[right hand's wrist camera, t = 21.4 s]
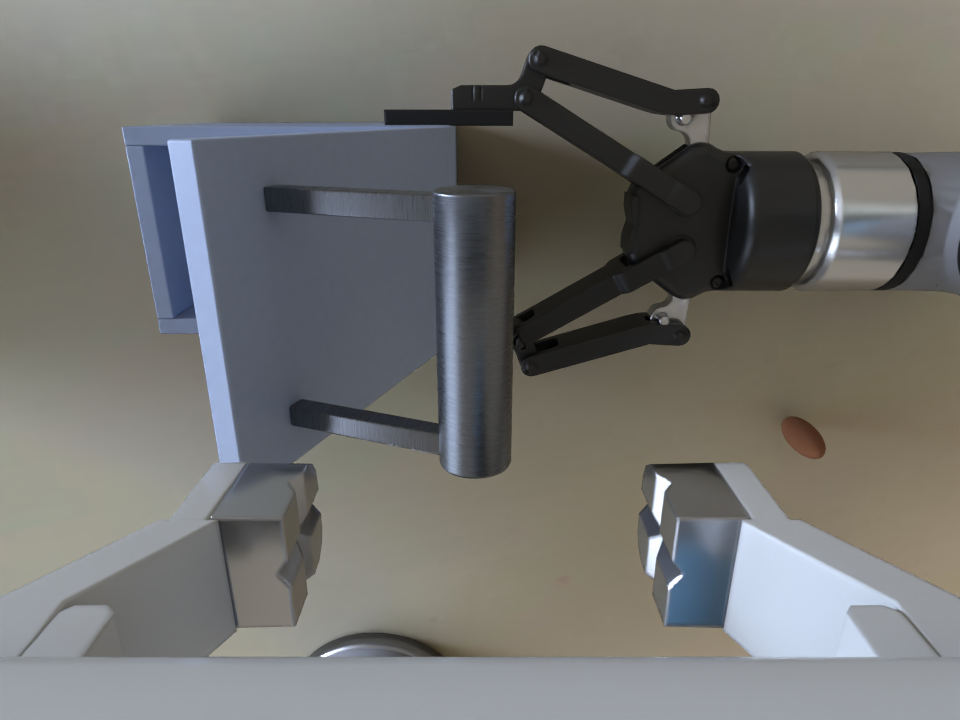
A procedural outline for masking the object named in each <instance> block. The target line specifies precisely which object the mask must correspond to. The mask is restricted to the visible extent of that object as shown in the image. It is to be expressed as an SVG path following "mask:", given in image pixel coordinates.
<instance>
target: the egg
mask: <svg viewBox="0 0 960 720" xmlns="http://www.w3.org/2000/svg"><path fill="white" fill-rule="evenodd" d="M782 432H783V435H784V437H785V439H786V441H787V442H788V443H789V444H790V446H791V447H792V448H793V449H794V450H796V451H797V452H798V453H800V454H801V455H803V456H805V457H808V458H811V459H818V458H821V457H822V456H823V455H824V454H825V451H826V447H825V443H824V440H823V438H822V436H821V435H820V433H819V432H818V431H817V430H816V429H815V428H814V427H813V426H812V425H811V424H810V423H808V422H807V421H805V420H803V419H801V418H798V417H787V418H785V419H784V420H783V422H782Z"/></svg>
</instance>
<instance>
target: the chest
mask: <svg viewBox="0 0 960 720" xmlns="http://www.w3.org/2000/svg"><path fill="white" fill-rule="evenodd" d="M437 126H450V125H385V123H197V124H172V125H148V126H124V127H122V131H123V136H124V142H125V145H127V146H126V151H127V157H128V162H129V167H130V173H131V178H132V184H133V189H134V194H135V200H136V205H137V210H138V216H139V221H140V227H141V232H142V237H143V243H144V248H145V253H146V259H147V264H148V269H149V275H150V280H151V286H152V291H153V296H154V302H155V307H156V312H157V317H158V318H159V319H158V323H159V328H160V333H161V334H199V331H198V325H197V319H196V313H195V307H194V301H193V294H192V288H191V282H190V276H189V270H188V264H187V258H186V252H185V246H184V240H183V233H182V227H181V221H180V215H179V209H178V203H177V197H176V191H175V185H174V179H173V173H172V166H171V160H170V154H169V148H168V140H170V139H182V138H204V137H225V136H246V135H267V134H288V133H310V132H331V131H352V130H373V129H394V128H416V127H437ZM454 127H455V158H456V185H457V139H456V126H454Z"/></svg>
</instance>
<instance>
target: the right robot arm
mask: <svg viewBox="0 0 960 720" xmlns="http://www.w3.org/2000/svg"><path fill="white" fill-rule="evenodd" d="M317 491H318V482H317V475H316V470H315V468H314V466H313V464H287V463H247V462H233V463H216V464H213V465H212V466H211V467H210V468H209V470H208V471H207V472H206V473H205V475H204V476H203V477H202V479H201V480H200V481H199V483H198V484H197V485H196V486H195V488H194V489H193V490H192V492H191V493H190V494H189V496H188V497H187V498H186V499H185V501H184V502H183V503H182V505H181V506H180V507H179V509H178V510H177V511H176V512H175V514H174V515H173V516H172V518H171V519H170V520H158V521H156V522H154V523H152V524H150V525H148V526H146V527H144V528H142V529H140V530H138V531H135V532H133V533H131V534H129V535H127V536H125V537H123V538H121V539H119V540H117V541H115V542H113V543H111V544H109V545H107V546H105V547H103V548H101V549H98V550H96V551H94V552H92V553H90V554H88V555H86V556H84V557H82V558H80V559H78V560H76V561H74V562H72V563H70V564H68V565H66V566H64V567H61V568H59V569H57V570H55V571H53V572H51V573H49V574H47V575H45V576H43V577H41V578H39V579H37V580H35V581H33V582H31V583H29V584H27V585H24V586H22V587H20V588H18V589H16V590H14V591H12V592H10V593H8V594H6V595H4V596H2V597H0V720H960V597H958V596H956V595H953V594H951V593H949V592H947V591H945V590H943V589H941V588H939V587H937V586H935V585H933V584H931V583H929V582H927V581H925V580H923V579H921V578H919V577H917V576H915V575H913V574H910V573H908V572H906V571H904V570H902V569H900V568H898V567H896V566H894V565H892V564H890V563H888V562H886V561H884V560H882V559H880V558H878V557H876V556H874V555H872V554H870V553H867V552H865V551H863V550H861V549H859V548H857V547H855V546H853V545H851V544H849V543H847V542H845V541H843V540H841V539H839V538H837V537H835V536H833V535H831V534H829V533H827V532H824V531H822V530H820V529H818V528H816V527H814V526H812V525H810V524H808V523H806V522H804V521H802V520H790V519H789V518H788V516H787V515H786V514H785V513H784V511H783V510H782V509H781V507H780V506H779V505H778V503H777V502H776V501H775V500H774V498H773V497H772V496H771V494H770V493H769V492H768V491H767V489H766V488H765V487H764V485H763V484H762V483H761V481H760V480H759V479H758V478H757V476H756V475H755V474H754V472H753V471H752V470H751V469H750V467H749V466H748V465H747V464H745V463H742V462H730V463H687V464H650V465H646V467H645V470H644V474H643V481H642V491H643V494H644V496H645V498H646V501H647V503H648V504H647V505H646V506H645V507H644V509H643V510H642V511H641V512H640V513H639V521H638V547H639V554H640V559H641V563H642V566H643V569H644V572H645V574H647V575H648V576H649V577H651V578H652V579H653V580H654V583H653V592H652V594H653V597H654V600H655V602H656V605H657V608H658V611H659V613H660V616H661V619H662V621H663V624H664V626H673V627H710V628H724V629H723V631H724V632H726V633H727V634H728V635H729V636H730V637H731V638H732V639H733V640H735V641H736V642H737V643H738V644H739V645H740V646H741V647H743V648H744V649H745V650H746V651H747V652H748V653H749V654H750V655H752V656H753V657H208V656H209V655H210V654H211V653H212V652H213V651H214V650H215V649H217V648H218V647H219V646H220V645H221V644H222V643H223V642H225V641H226V640H227V639H228V638H229V637H230V636H231V635H233V634H234V633H235V632H236V628H250V627H285V626H296V624H297V622H298V619H299V616H300V613H301V611H302V608H303V605H304V602H305V600H306V597H307V594H308V592H307V583H306V580H307V579H308V578H309V577H311V576H312V575H313V574H315V572H316V569H317V566H318V563H319V559H320V552H321V546H322V520H321V513H320V512H319V511H318V510H317V509H316V507H315V506H314V505H313V504H312V503H313V501H314V498H315V496H316V494H317Z"/></svg>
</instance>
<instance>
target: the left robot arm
mask: <svg viewBox="0 0 960 720" xmlns="http://www.w3.org/2000/svg"><path fill="white" fill-rule="evenodd" d="M546 78H547V79H550V80H553V81H556V82H559V83H562V84H565V85H568V86H571V87H574V88H577V89H580V90H583V91H586V92H589V93H592V94H595V95H597V96H600V97H603V98H606V99H609V100H612V101H615V102H618V103H621V104H624V105H627V106H630V107H633V108H636V109H639V110H642V111H645V112H649V113H653V114H660V115H666V123H667V125H668V127H669V128H670V129H672V130H675V131H679V132H680V133H682V134H683V136H684V138H685V144H684V145H682V146H680V147H679V148H678V149H676V150H675V151H673V152H672V153H671V154H669V155H668V156H666V157H665V158H663V159H662V160H661V161H659V162H658V163H656V164H655V165H653V164H651V163H650V162H648V161H647V160H645V159H644V158H642V157H640V156H639V155H637V154H635V153H633V152H632V151H630V150H629V149H627V148H626V147H624V146H623V145H621V144H619V143H618V142H616V141H615V140H613V139H612V138H610V137H609V136H607V135H606V134H604V133H603V132H601V131H600V130H598V129H596V128H595V127H593V126H592V125H590V124H589V123H587V122H586V121H584V120H583V119H581V118H580V117H578V116H577V115H575V114H573V113H572V112H570V111H569V110H567V109H566V108H564V107H563V106H561V105H560V104H558V103H557V102H555V101H554V100H552V99H550V98H549V97H547V96H546V95H544V94H543V93H541V90H542V88H543V85H544V82H545V79H546ZM719 101H720V99H719V94H718V93H717V91H715V90H714V89H711V88H701V89H684V90H673V89H670V88H667V87H664V86H661V85H658V84H656V83H653V82H650V81H647V80H644V79H641V78H638V77H635V76H632V75H629V74H626V73H623V72H620V71H617V70H614V69H611V68H608V67H605V66H603V65H600V64H597V63H594V62H591V61H588V60H585V59H582V58H579V57H576V56H573V55H570V54H567V53H564V52H561V51H558V50H555V49H552V48H550V47H547V46H541V45H540V46H537V47H535V48H534V49H533V50H531V52H530V53H529V54H528V56H527V58H526V62H525V64H524V67H523V70H522V73H521V76H520V78H519V79H518V81H517V82H516V83H514V84H512V85H461V86H458V87H456V88H454V89H452V90H451V105H452V110H384V119H385V125H450V126H513V111H521V112H523V113H524V114H526V115H528V116H529V117H531V118H532V119H534V120H535V121H537V122H538V123H540V124H542V125H543V126H545V127H546V128H548V129H549V130H551V131H552V132H554V133H556V134H557V135H559V136H560V137H562V138H563V139H565V140H567V141H568V142H570V143H571V144H573V145H574V146H576V147H577V148H579V149H581V150H582V151H584V152H585V153H587V154H588V155H590V156H591V157H593V158H595V159H596V160H598V161H599V162H601V163H602V164H604V165H605V166H607V167H609V168H610V169H612V170H613V171H614V172H616V173H617V174H619V175H621V176H622V177H624V178H625V179H627V180H628V181H630V182H631V185H630V186H629V188H628V191H627V192H625V193H624V211H625V216H626V221H625V224H624V227H623V230H622V233H621V244H620V247H621V248H622V249H623V252H624V253H622V254H620V255H619V256H617V257H615V258H613V259H612V260H610V261H609V262H608V263H607V264H606V265H605V266H604V267H602V268H600V269H598V270H597V271H595V272H593V273H591V274H589V275H588V276H586V277H584V278H582V279H580V280H579V281H577V282H575V283H573V284H572V285H570V286H568V287H566V288H564V289H563V290H561V291H559V292H557V293H555V294H554V295H552V296H550V297H548V298H546V299H545V300H543V301H541V302H539V303H538V304H536V305H534V306H532V307H530V308H529V309H527V310H525V311H523V312H521V313H520V314H518V315H516V316H514V322H513V349H514V350H515V352H516V354H517V357H518V360H519V362H520V365H521V370H522V371H523V373H524V374H525V375H528V376H535V375H539V374H543V373H546V372H550V371H553V370H557V369H561V368H564V367H568V366H572V365H575V364H579V363H582V362H586V361H590V360H593V359H597V358H601V357H604V356H608V355H611V354H615V353H619V352H622V351H626V350H630V349H633V348H637V347H641V346H644V345H648V344H657V345H676V346H679V345H683V344H685V343H687V342H688V340H689V338H690V331H689V329H688V328H687V327H686V326H685V323H686V318H687V312H688V306H689V301H690V298H692V297H695V296H696V295H698V294H700V293H703V292H706V291H711V290H729V291H780V290H785V289H787V288H789V287H793V288H794V289H796V290H801V291H832V290H918V291H941V292H948V293H953V294H957V295H959V296H960V152H933V153H901V152H854V151H817V152H810V153H808V154H807V155H805V156H803V155H802V154H800V153H799V152H795V151H722V150H719V149H717V148H716V147H714V146H713V145H711V144H709V133H710V118H711V112H713V111H714V110H715V109H716V108H717V106H718V105H719ZM651 281H653V282H655V283H656V284H657V285H659V286H660V287H661V288H663V289H664V290H665V291H667V292H668V293H669V294H668V297H667V298H666V299H665V300H664V301H663V302H661V303H656V304H653V305H652V306H651V307H650V308H649V309H648V312H642V313H634V314H630V315H626V316H622V317H619V318H615V319H612V320H608V321H605V322H601V323H598V324H594V325H591V326H587V327H583V328H580V329H576V330H573V331H569V332H566V333H562V334H559V335H555V336H551V337H548V338H544V339H541V340H538V339H540V338H542V337H544V336H546V335H547V334H549V333H551V332H553V331H555V330H557V329H558V328H560V327H562V326H564V325H566V324H568V323H569V322H571V321H573V320H575V319H577V318H579V317H580V316H582V315H584V314H586V313H588V312H590V311H591V310H593V309H595V308H597V307H599V306H600V305H602V304H604V303H606V302H608V301H610V300H611V299H613V298H615V297H617V296H619V295H621V294H624V293H630V292H632V291H634V290H636V289H638V288H640V287H641V286H643V285H645V284H647V283H649V282H651ZM536 340H537V341H536ZM208 657H209V656H208ZM309 657H442V656H441V655H439V654H438V653H437V652H435V651H434V650H432V649H431V648H429V647H427V646H426V645H424V644H421V643H419V642H417V641H415V640H412V639H409V638H406V637H402V636H398V635H393V634H385V633H363V634H355V635H350V636H346V637H342V638H339V639H336V640H334V641H331V642H329V643H327V644H325V645H324V646H322V647H320V648H319V649H317V650H316V651H315V652H313V653H312V654H311V655H310V656H309Z"/></svg>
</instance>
